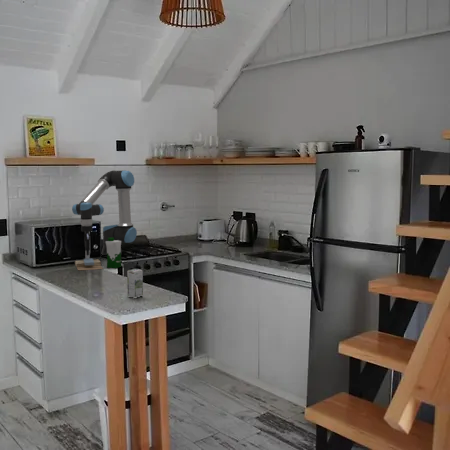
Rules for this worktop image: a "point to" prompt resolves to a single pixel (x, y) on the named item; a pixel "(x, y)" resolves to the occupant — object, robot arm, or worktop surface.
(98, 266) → the mat
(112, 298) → the worktop surface
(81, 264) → the board
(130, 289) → the syrup box
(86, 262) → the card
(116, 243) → the milk carton
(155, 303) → the worktop surface
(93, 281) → the worktop surface
